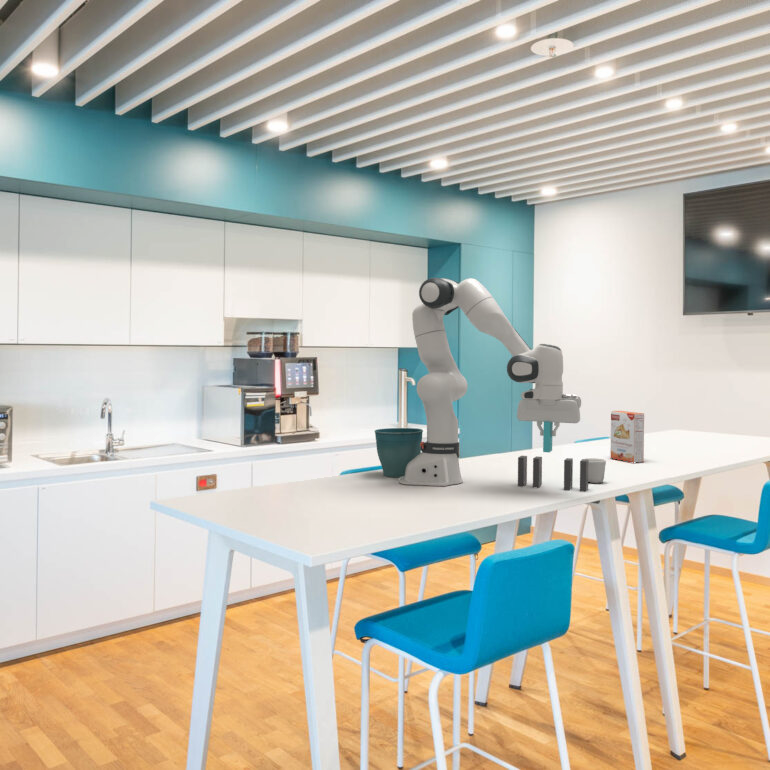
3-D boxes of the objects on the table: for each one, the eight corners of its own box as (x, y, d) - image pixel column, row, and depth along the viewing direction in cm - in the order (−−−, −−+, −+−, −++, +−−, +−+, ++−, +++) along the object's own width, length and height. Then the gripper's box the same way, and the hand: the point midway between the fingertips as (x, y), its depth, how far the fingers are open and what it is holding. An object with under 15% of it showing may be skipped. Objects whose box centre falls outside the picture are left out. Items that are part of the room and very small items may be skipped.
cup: (572, 479, 267) (573, 457, 267) (591, 478, 270) (591, 456, 270) (591, 484, 257) (591, 461, 257) (610, 483, 260) (610, 460, 260)
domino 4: (588, 488, 250) (588, 459, 249) (585, 491, 245) (586, 461, 244) (582, 488, 250) (582, 459, 250) (579, 491, 246) (580, 461, 245)
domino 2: (541, 485, 256) (542, 456, 255) (538, 487, 251) (539, 458, 251) (535, 485, 256) (536, 456, 256) (532, 487, 252) (533, 458, 251)
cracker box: (609, 459, 319) (610, 410, 318) (620, 458, 322) (621, 410, 321) (633, 463, 306) (633, 413, 305) (644, 462, 309) (644, 412, 308)
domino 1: (526, 484, 258) (527, 455, 257) (523, 486, 253) (523, 457, 253) (521, 484, 259) (521, 455, 258) (517, 486, 254) (518, 457, 253)
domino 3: (572, 487, 252) (572, 458, 251) (569, 490, 247) (570, 460, 247) (566, 487, 252) (566, 458, 252) (563, 489, 248) (564, 460, 247)
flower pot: (365, 477, 273) (365, 431, 272) (388, 470, 289) (388, 426, 288) (409, 481, 264) (410, 433, 264) (430, 473, 280) (430, 429, 280)
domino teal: (552, 450, 245) (552, 420, 245) (549, 452, 241) (549, 421, 240) (546, 450, 246) (546, 420, 246) (543, 452, 242) (543, 421, 241)
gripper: (582, 394, 241) (581, 436, 242) (520, 392, 249) (519, 433, 250) (579, 395, 236) (578, 438, 236) (516, 393, 244) (515, 435, 244)
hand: (547, 435), depth 243 cm, fingers closed on domino teal, 2 cm apart
